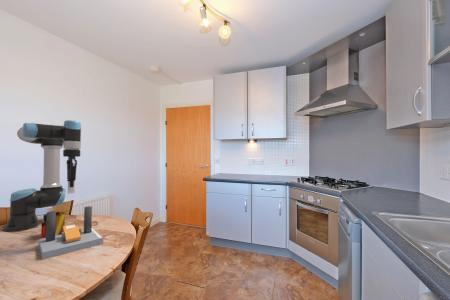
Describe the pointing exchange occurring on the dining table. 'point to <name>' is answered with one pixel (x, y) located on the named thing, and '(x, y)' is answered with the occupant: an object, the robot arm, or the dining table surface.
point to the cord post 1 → (50, 226)
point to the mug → (58, 225)
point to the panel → (69, 244)
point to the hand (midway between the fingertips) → (70, 193)
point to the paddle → (71, 233)
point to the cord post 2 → (87, 219)
